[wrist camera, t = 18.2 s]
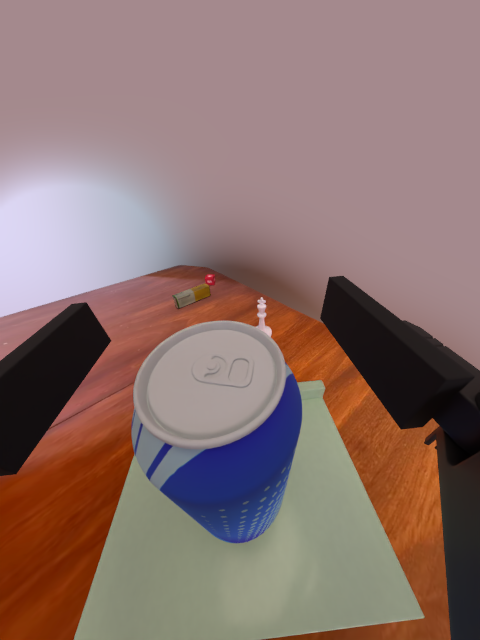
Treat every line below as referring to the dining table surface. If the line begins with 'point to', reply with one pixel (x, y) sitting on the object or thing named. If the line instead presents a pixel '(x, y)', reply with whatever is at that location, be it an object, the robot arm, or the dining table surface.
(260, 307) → the chess piece
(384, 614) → the shelf
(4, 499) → the dining table surface
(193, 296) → the medication box
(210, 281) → the red letter cube
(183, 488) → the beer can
